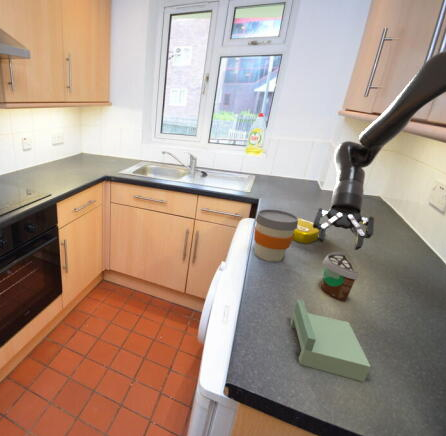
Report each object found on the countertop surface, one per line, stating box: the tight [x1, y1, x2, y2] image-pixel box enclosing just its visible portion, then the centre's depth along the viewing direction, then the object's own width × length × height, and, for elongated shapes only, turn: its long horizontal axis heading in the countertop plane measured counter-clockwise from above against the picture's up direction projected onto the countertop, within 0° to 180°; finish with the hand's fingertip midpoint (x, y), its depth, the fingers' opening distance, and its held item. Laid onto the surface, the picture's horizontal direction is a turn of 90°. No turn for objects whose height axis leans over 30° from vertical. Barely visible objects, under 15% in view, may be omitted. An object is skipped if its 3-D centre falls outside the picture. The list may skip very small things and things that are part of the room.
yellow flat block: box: [292, 217, 319, 245], centre depth 121 cm, size 15×15×5 cm
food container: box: [320, 251, 359, 303], centre depth 83 cm, size 12×6×10 cm, turn 157°
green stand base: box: [289, 299, 372, 383], centre depth 63 cm, size 11×13×7 cm
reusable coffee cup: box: [253, 208, 299, 263], centre depth 101 cm, size 13×13×15 cm
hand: (338, 245), depth 86 cm, fingers open, 8 cm apart
